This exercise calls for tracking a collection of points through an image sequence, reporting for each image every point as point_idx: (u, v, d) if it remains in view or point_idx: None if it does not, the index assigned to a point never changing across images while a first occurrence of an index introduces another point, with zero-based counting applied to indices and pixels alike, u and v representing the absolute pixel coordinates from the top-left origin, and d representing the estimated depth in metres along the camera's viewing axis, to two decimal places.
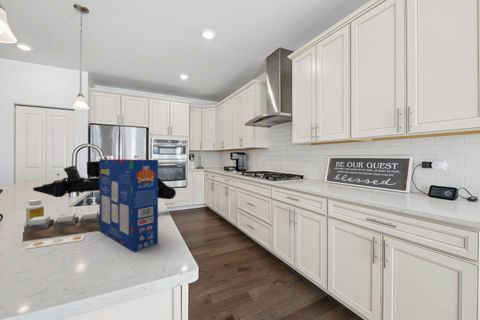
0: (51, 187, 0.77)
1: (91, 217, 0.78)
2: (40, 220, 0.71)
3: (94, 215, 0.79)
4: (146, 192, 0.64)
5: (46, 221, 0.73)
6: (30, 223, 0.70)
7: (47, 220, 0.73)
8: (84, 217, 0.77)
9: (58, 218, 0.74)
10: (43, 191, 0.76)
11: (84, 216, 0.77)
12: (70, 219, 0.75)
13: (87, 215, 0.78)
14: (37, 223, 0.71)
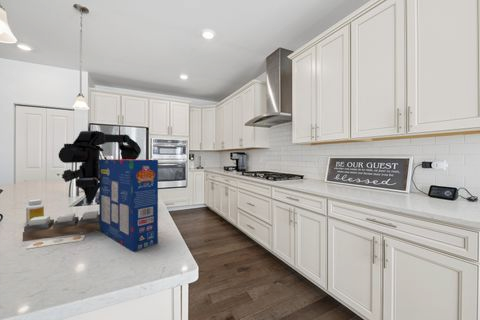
0: (87, 189, 0.76)
1: (91, 217, 0.78)
2: (40, 220, 0.71)
3: (94, 215, 0.79)
4: (146, 192, 0.64)
5: (46, 221, 0.73)
6: (30, 223, 0.70)
7: (47, 220, 0.73)
8: (84, 217, 0.77)
9: (58, 218, 0.74)
10: (92, 195, 0.77)
11: (84, 216, 0.77)
12: (70, 219, 0.75)
13: (87, 215, 0.78)
14: (37, 223, 0.71)
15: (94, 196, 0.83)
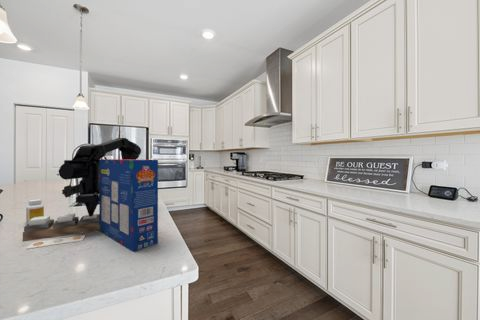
0: (89, 203, 0.79)
1: None
2: (40, 220, 0.71)
3: None
4: (146, 192, 0.64)
5: (46, 221, 0.73)
6: (30, 223, 0.70)
7: (47, 220, 0.73)
8: None
9: (58, 218, 0.74)
10: (93, 208, 0.79)
11: None
12: (70, 219, 0.75)
13: (87, 218, 0.78)
14: (37, 223, 0.71)
15: (93, 211, 0.81)
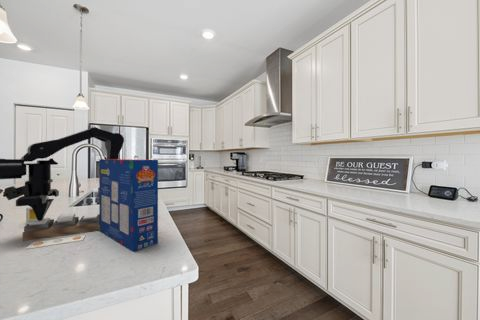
0: (36, 206, 0.71)
1: None
2: (40, 222, 0.71)
3: None
4: (146, 192, 0.64)
5: (46, 223, 0.73)
6: (30, 225, 0.70)
7: (47, 222, 0.73)
8: None
9: (58, 218, 0.74)
10: (42, 212, 0.72)
11: None
12: (70, 219, 0.75)
13: (87, 218, 0.78)
14: None
15: None
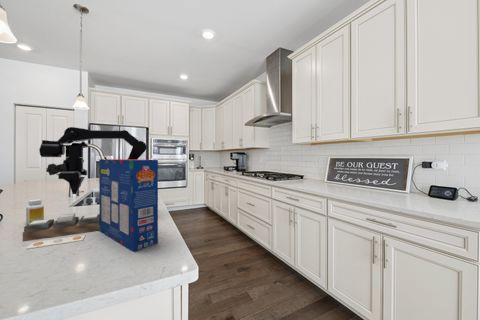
0: (72, 181, 0.84)
1: None
2: (40, 223, 0.71)
3: None
4: (146, 192, 0.64)
5: None
6: None
7: None
8: None
9: (58, 218, 0.74)
10: (76, 186, 0.85)
11: None
12: (70, 219, 0.75)
13: (87, 218, 0.78)
14: None
15: None
